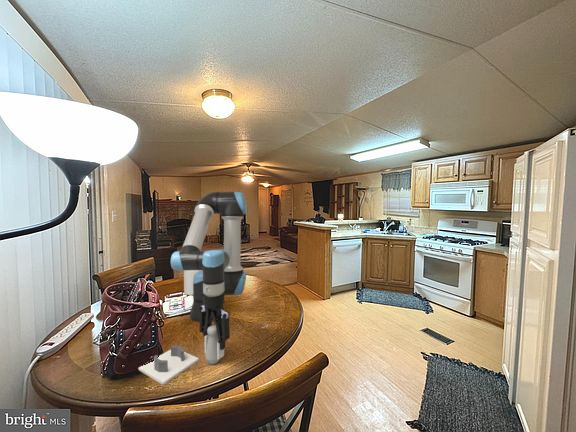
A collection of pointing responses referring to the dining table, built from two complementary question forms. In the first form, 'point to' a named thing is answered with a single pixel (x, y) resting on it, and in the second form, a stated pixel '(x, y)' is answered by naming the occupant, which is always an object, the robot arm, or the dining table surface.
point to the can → (189, 281)
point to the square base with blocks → (168, 365)
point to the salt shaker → (212, 345)
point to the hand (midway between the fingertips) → (214, 354)
